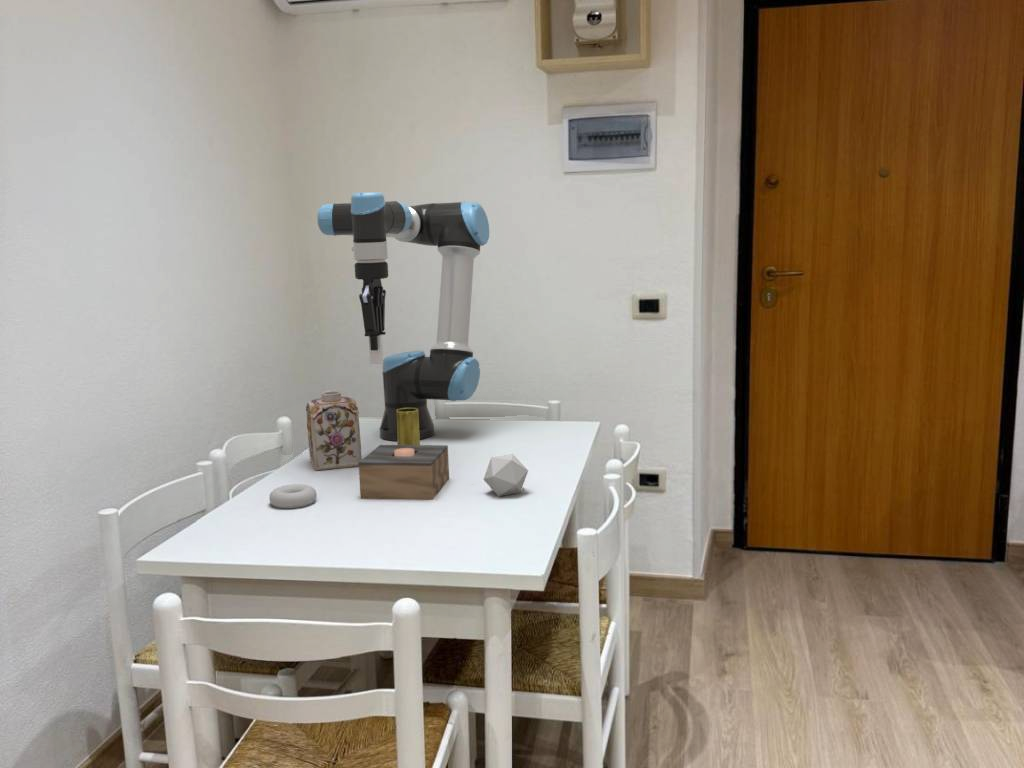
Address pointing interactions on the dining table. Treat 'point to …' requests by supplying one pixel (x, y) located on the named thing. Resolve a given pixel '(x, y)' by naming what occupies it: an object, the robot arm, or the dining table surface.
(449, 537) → the dining table surface
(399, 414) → the vase
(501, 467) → the die
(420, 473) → the socket block
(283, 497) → the donut
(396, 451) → the peg
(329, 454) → the decorative jar
